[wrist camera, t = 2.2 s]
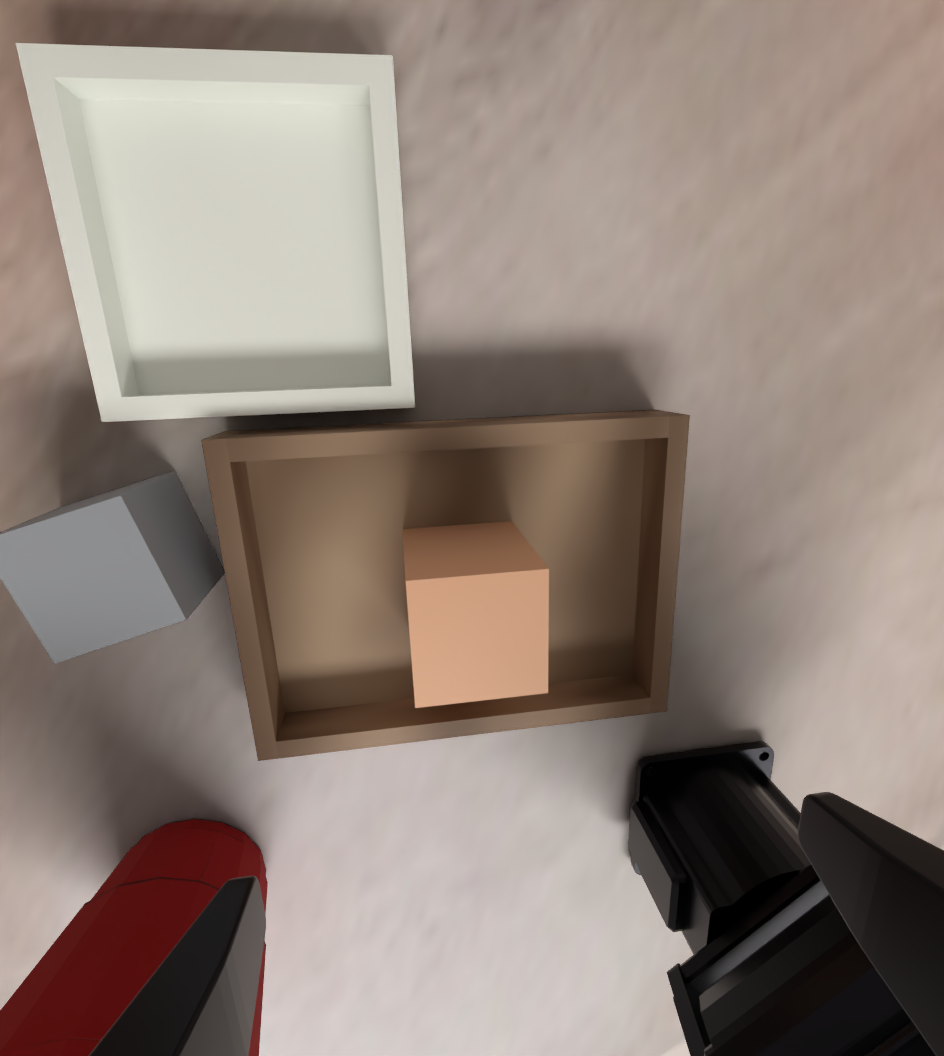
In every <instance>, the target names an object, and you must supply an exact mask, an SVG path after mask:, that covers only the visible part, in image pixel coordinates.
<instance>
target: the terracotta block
mask: <svg viewBox="0 0 944 1056" xmlns="http://www.w3.org/2000/svg"><path fill="white" fill-rule="evenodd" d="M403 546H404V563H405V580H406V593H407V607H408V620H409V633H410V646H411V659H412V673H413V686H414V699H415V708H421V707H429V706H438V705H447V704H456V703H465V702H474V701H482V700H491V699H500V698H509V697H518V696H526V695H535V694H544V693H548V642H549V568H548V567H547V566H546V564H545V563H544V562H543V561H542V559H541V558H540V557H539V555H538V554H537V553H536V552H535V550H534V549H533V548H532V546H531V545H530V544H529V543H528V541H527V540H526V539H525V537H524V536H523V535H522V534H521V532H520V531H519V530H518V528H517V527H516V526H515V525H514V523H513V522H512V521H507V522H493V523H480V524H466V525H452V526H439V527H425V528H411V529H403Z"/></svg>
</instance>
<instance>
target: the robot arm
mask: <svg viewBox="0 0 944 1056" xmlns="http://www.w3.org/2000/svg"><path fill="white" fill-rule="evenodd" d="M761 753H762V754H761ZM773 759H774V751H773V750H772V748H771V747H770V746H769V745H768V744H767V743H765V742H754V743H746V744H739V745H731V746H723V747H716V748H708V749H700V750H693V751H685V752H677V753H670V754H662V755H655V756H647V757H644V758H642V759H641V760H640V761H639V762H638V764H637V771H636V788H635V802H633V804H632V806H631V810H630V827H629V843H628V848H629V850H630V852H631V864H632V866H633V868H634V870H635V872H636V873H637V874H639V875H642V877H643V879H644V881H645V883H646V885H647V887H648V889H649V891H650V893H651V895H652V897H653V899H654V901H655V903H656V906H657V908H658V910H659V912H660V914H661V916H662V918H663V920H664V922H665V924H666V926H667V927H668V928H669V929H670V930H672V931H673V932H678V931H682V933H683V935H684V937H685V939H686V941H687V943H688V945H689V947H690V948H691V950H692V952H693V954H694V955H693V956H692V957H690V958H689V959H688V960H686V961H685V962H684V963H683V964H681V965H680V964H676V965H675V966H674V967H673V968H671V969H670V970H669V971H668V972H667V975H668V978H669V981H670V985H671V988H672V991H673V995H674V997H673V999H674V1003H675V1006H676V1009H677V1013H678V1016H679V1019H680V1023H681V1026H682V1029H683V1032H684V1036H685V1039H686V1042H687V1046H688V1049H689V1052H690V1055H691V1056H944V850H942V849H940V848H938V847H936V846H934V845H932V844H930V843H928V842H926V841H924V840H922V839H920V838H918V837H917V836H915V835H913V834H911V833H909V832H907V831H905V830H903V829H901V828H899V827H897V826H895V825H893V824H891V823H890V822H888V821H886V820H884V819H882V818H880V817H878V816H876V815H874V814H872V813H870V812H868V811H866V810H864V809H862V808H861V807H859V806H857V805H855V804H853V803H851V802H849V801H847V800H845V799H843V798H841V797H839V796H837V795H835V794H833V793H830V792H823V793H816V794H809V795H807V796H806V797H805V798H804V800H803V804H802V809H801V813H800V812H799V811H798V810H797V808H796V807H795V806H794V805H793V804H792V803H791V802H790V801H789V800H788V799H787V798H786V796H785V795H784V794H783V793H782V792H781V791H780V790H779V789H778V788H777V787H776V786H775V784H774V783H773V782H772V781H771V773H772V766H773ZM650 767H651V768H650ZM648 768H650V769H649V770H647V769H648ZM265 930H266V917H265V911H264V905H263V900H262V895H261V890H260V885H259V881H258V879H257V877H255V876H246V877H239V878H233V879H230V880H228V881H227V882H226V883H225V884H224V885H223V886H222V887H221V888H220V890H219V891H218V892H217V894H216V895H215V896H214V897H213V899H212V900H211V901H210V902H209V904H208V905H207V906H206V907H205V909H204V910H203V911H202V913H201V914H200V915H199V916H198V918H197V919H196V920H195V921H194V923H193V924H192V925H191V926H190V928H189V929H188V930H187V932H186V933H185V934H184V935H183V937H182V938H181V939H180V940H179V942H178V943H177V944H176V946H175V947H174V948H173V949H172V951H171V952H170V953H169V954H168V956H167V957H166V958H165V959H164V961H163V962H162V963H161V965H160V966H159V967H158V968H157V970H156V971H155V972H154V973H153V975H152V976H151V977H150V978H149V980H148V981H147V982H146V984H145V985H144V986H143V987H142V989H141V990H140V991H139V992H138V994H137V995H136V996H135V997H134V999H133V1000H132V1001H131V1003H130V1004H129V1005H128V1006H127V1008H126V1009H125V1010H124V1011H123V1013H122V1014H121V1015H120V1016H119V1018H118V1019H117V1020H116V1022H115V1023H114V1024H113V1025H112V1027H111V1028H110V1029H109V1030H108V1032H107V1033H106V1034H105V1035H104V1037H103V1038H102V1039H101V1041H100V1042H99V1043H98V1044H97V1046H96V1047H95V1048H94V1049H93V1051H92V1052H91V1053H90V1054H89V1056H248V1054H249V1047H250V1041H251V1034H252V1026H253V1019H254V1012H255V1005H256V997H257V990H258V983H259V975H260V968H261V961H262V953H263V946H264V939H265Z"/></svg>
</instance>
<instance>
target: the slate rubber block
mask: <svg viewBox="0 0 944 1056" xmlns="http://www.w3.org/2000/svg"><path fill="white" fill-rule="evenodd" d="M224 573H225V572H224V570H223V568H222V565H221V563H220V561H219V559H218V557H217V555H216V553H215V551H214V549H213V547H212V545H211V543H210V541H209V539H208V537H207V535H206V533H205V531H204V529H203V527H202V524H201V522H200V520H199V518H198V516H197V514H196V512H195V510H194V508H193V506H192V504H191V502H190V500H189V498H188V496H187V494H186V492H185V490H184V488H183V485H182V483H181V481H180V479H179V477H178V475H177V473H176V471H175V470H174V471H171V472H168V473H165V474H162V475H159V476H156V477H153V478H149V479H146V480H143V481H140V482H137V483H134V484H131V485H128V486H125V487H121V488H118V489H115V490H112V491H109V492H106V493H103V494H100V495H97V496H94V497H90V498H87V499H84V500H81V501H78V502H75V503H72V504H69V505H66V506H62V507H60V508H57V509H55V510H53V511H50V512H48V513H45V514H43V515H41V516H38V517H36V518H33V519H31V520H29V521H26V522H24V523H21V524H19V525H17V526H14V527H12V528H9V529H7V530H5V531H2V532H0V579H1V580H2V582H3V583H4V585H5V587H6V588H7V590H8V591H9V593H10V594H11V596H12V598H13V599H14V601H15V602H16V604H17V605H18V607H19V609H20V610H21V612H22V613H23V615H24V617H25V618H26V620H27V621H28V623H29V624H30V626H31V628H32V629H33V631H34V632H35V634H36V635H37V637H38V639H39V640H40V642H41V643H42V645H43V647H44V648H45V650H46V651H47V653H48V654H49V656H50V658H51V659H52V661H53V662H54V664H56V663H59V662H62V661H65V660H68V659H71V658H74V657H77V656H80V655H83V654H86V653H89V652H92V651H95V650H98V649H101V648H104V647H107V646H110V645H113V644H116V643H119V642H121V641H124V640H127V639H130V638H133V637H136V636H139V635H142V634H145V633H148V632H151V631H154V630H157V629H160V628H163V627H166V626H169V625H172V624H175V623H178V622H181V621H184V620H187V618H188V617H189V616H190V615H191V613H192V612H193V611H194V610H195V609H196V607H197V606H198V605H199V604H200V603H201V601H202V600H203V599H204V598H205V596H206V595H207V594H208V593H209V592H210V590H211V589H212V588H213V587H214V586H215V584H216V583H217V582H218V581H219V580H220V578H221V577H222V576H223V575H224Z"/></svg>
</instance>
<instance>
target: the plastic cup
mask: <svg viewBox="0 0 944 1056" xmlns="http://www.w3.org/2000/svg"><path fill="white" fill-rule="evenodd" d="M246 876H255V877H257V879H258V881H259V885H260V890H261V895H262V900H263V905H264V911H265V912H266V897H267V879H266V868H265V865H264V861H263V857H262V854H261V850H260V849H259V848H258V847H257V846H256V845H255V844H254V843H253V841H252V840H251V839H250V838H249V837H248V836H247V835H246V834H245V833H243V832H241V831H239V830H237V829H235V828H233V827H231V826H228V825H226V824H224V823H222V822H215V821H207V820H198V819H191V820H185V821H180V822H175V823H169V824H165V825H163V826H162V827H160V828H158V829H156V830H154V831H153V832H151V833H149V834H147V835H146V836H144V837H142V839H141V840H140V841H139V843H138V844H137V845H135V846H134V847H132V848H131V849H130V850H129V852H128V853H127V854H126V855H125V857H124V858H123V859H122V860H121V862H120V863H119V864H118V866H117V867H116V868H115V869H114V871H113V872H112V873H111V875H110V876H109V877H108V879H107V880H106V881H105V882H104V884H103V885H102V886H101V888H100V889H99V890H98V892H97V893H96V894H95V895H94V897H93V898H92V899H91V901H89V902H87V903H85V904H84V906H83V907H82V908H81V909H80V911H79V912H78V913H77V914H76V916H75V917H74V918H73V920H72V921H71V922H70V923H69V925H68V926H67V927H66V928H65V930H64V931H63V932H62V933H61V935H60V936H59V937H58V938H57V940H56V941H55V942H54V944H53V945H52V946H51V947H50V949H49V950H48V951H47V952H46V954H45V955H44V956H43V957H42V959H41V960H40V961H39V962H38V964H37V965H36V966H35V968H34V969H33V970H32V971H31V973H30V974H29V975H28V976H27V978H26V979H25V980H24V981H23V983H22V984H21V985H20V986H19V988H18V989H17V990H16V992H15V993H14V994H13V995H12V997H11V998H10V999H9V1000H8V1002H7V1003H6V1004H5V1005H4V1007H3V1008H2V1009H1V1010H0V1056H89V1054H90V1053H91V1052H92V1051H93V1049H94V1048H95V1047H96V1046H97V1044H98V1043H99V1042H100V1041H101V1039H102V1038H103V1037H104V1035H105V1034H106V1033H107V1032H108V1030H109V1029H110V1028H111V1027H112V1025H113V1024H114V1023H115V1022H116V1020H117V1019H118V1018H119V1016H120V1015H121V1014H122V1013H123V1011H124V1010H125V1009H126V1008H127V1006H128V1005H129V1004H130V1003H131V1001H132V1000H133V999H134V997H135V996H136V995H137V994H138V992H139V991H140V990H141V989H142V987H143V986H144V985H145V984H146V982H147V981H148V980H149V978H150V977H151V976H152V975H153V973H154V972H155V971H156V970H157V968H158V967H159V966H160V965H161V963H162V962H163V961H164V959H165V958H166V957H167V956H168V954H169V953H170V952H171V951H172V949H173V948H174V947H175V946H176V944H177V943H178V942H179V940H180V939H181V938H182V937H183V935H184V934H185V933H186V932H187V930H188V929H189V928H190V926H191V925H192V924H193V923H194V921H195V920H196V919H197V918H198V916H199V915H200V914H201V913H202V911H203V910H204V909H205V907H206V906H207V905H208V904H209V902H210V901H211V900H212V899H213V897H214V896H215V895H216V894H217V892H218V891H219V890H220V888H221V887H222V886H223V885H224V884H225V883H226V882H227V881H228V880H230V879H233V878H239V877H246ZM265 951H266V944H265V941H264V946H263V953H262V961H261V968H260V975H259V983H258V990H257V997H256V1005H255V1012H254V1019H253V1026H252V1034H251V1041H250V1047H249V1054H248V1056H259V1042H260V1027H261V1012H262V997H263V981H264V966H265Z"/></svg>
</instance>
